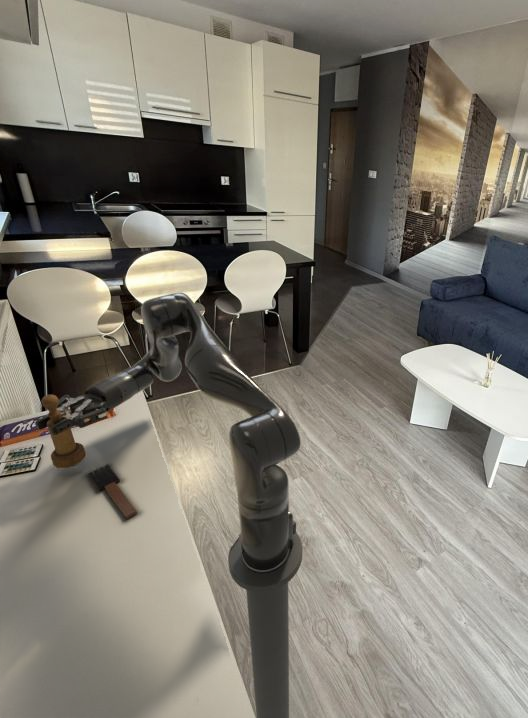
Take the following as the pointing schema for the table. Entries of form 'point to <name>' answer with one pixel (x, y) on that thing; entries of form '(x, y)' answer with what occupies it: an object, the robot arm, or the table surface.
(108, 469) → the brush with brown handle
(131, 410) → the table surface
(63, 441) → the mortar and pestle
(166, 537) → the table surface
